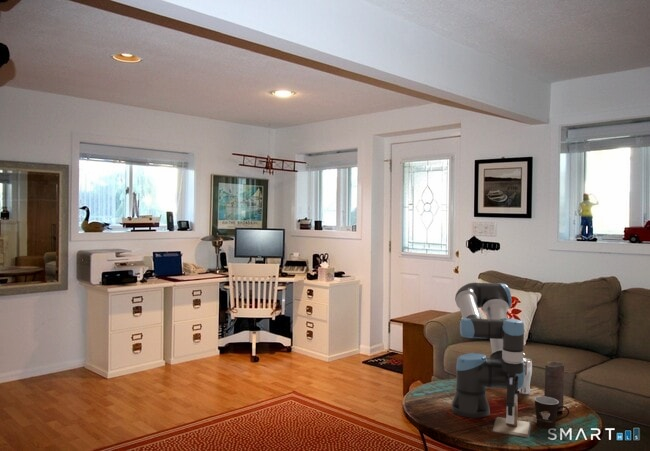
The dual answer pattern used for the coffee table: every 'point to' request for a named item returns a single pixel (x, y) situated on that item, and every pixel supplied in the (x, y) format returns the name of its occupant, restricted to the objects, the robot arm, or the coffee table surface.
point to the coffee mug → (547, 411)
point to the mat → (512, 434)
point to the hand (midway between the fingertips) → (511, 416)
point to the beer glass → (526, 377)
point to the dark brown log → (554, 381)
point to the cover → (512, 425)
